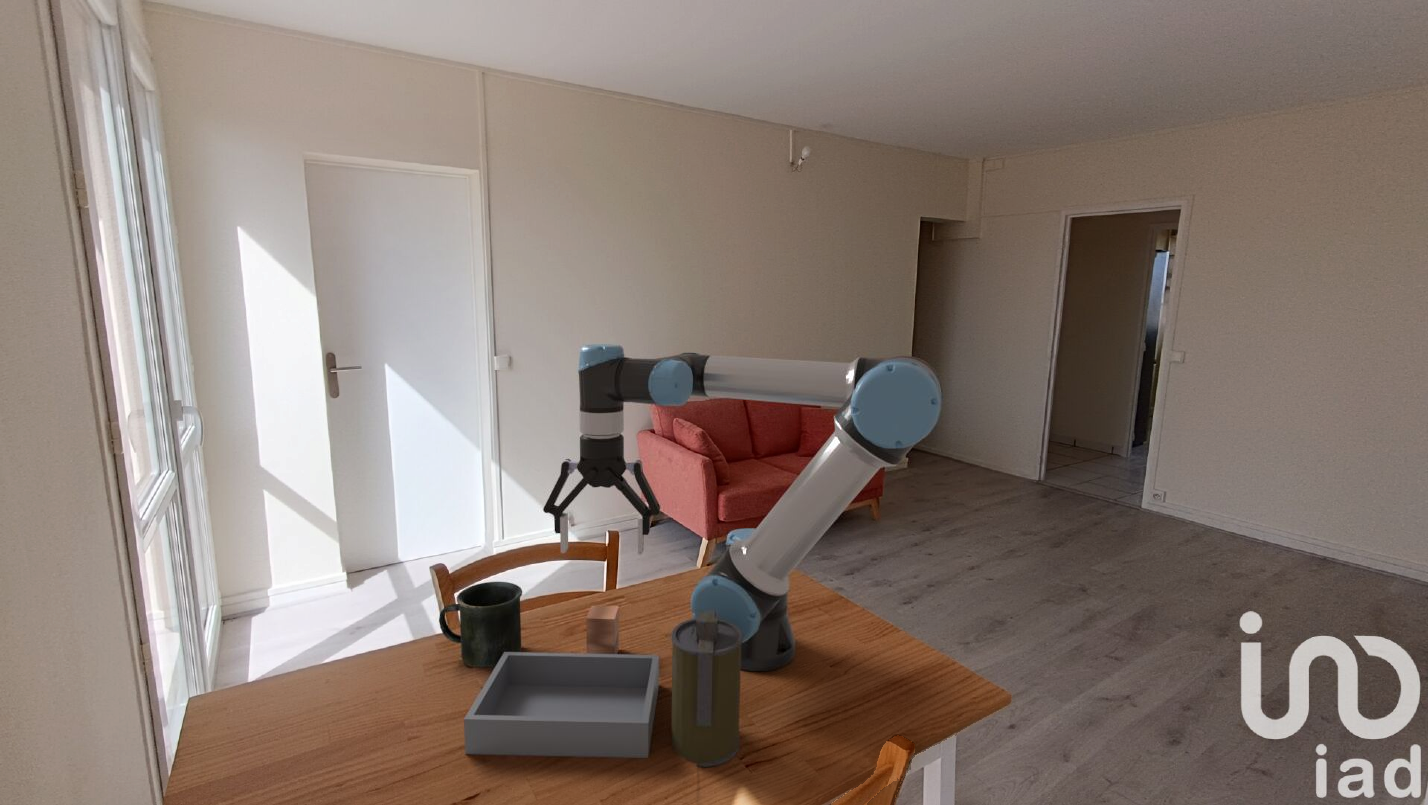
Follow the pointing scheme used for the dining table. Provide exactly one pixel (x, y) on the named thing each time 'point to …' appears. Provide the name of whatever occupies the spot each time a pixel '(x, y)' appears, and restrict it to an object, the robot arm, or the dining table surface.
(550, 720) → the bin
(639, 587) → the dining table surface
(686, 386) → the robot arm
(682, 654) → the canister
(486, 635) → the mug
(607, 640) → the block
